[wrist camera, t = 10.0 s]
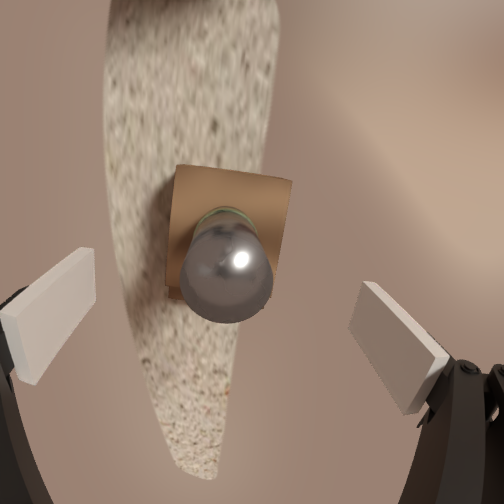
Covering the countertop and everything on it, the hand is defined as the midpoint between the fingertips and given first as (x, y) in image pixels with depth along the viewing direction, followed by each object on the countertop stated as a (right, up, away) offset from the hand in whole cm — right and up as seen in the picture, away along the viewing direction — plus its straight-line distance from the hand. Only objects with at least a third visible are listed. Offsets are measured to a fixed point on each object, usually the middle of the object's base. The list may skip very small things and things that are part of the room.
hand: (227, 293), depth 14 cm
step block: (-2, +4, +18) cm, 18 cm away
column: (-1, +3, +13) cm, 13 cm away
